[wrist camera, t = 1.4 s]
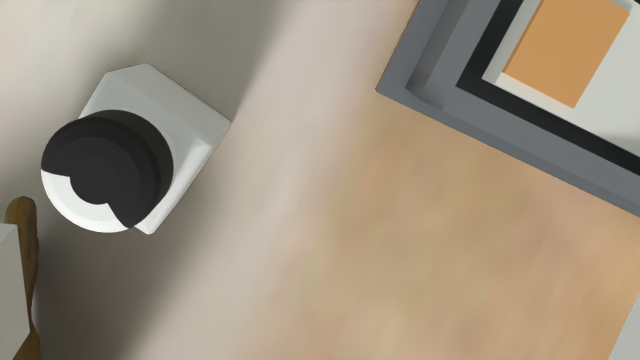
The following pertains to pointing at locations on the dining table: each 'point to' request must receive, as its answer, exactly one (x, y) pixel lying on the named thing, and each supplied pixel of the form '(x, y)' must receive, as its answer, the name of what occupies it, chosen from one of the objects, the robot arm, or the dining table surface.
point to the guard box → (497, 99)
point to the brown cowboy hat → (26, 265)
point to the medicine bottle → (130, 152)
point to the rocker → (576, 64)
